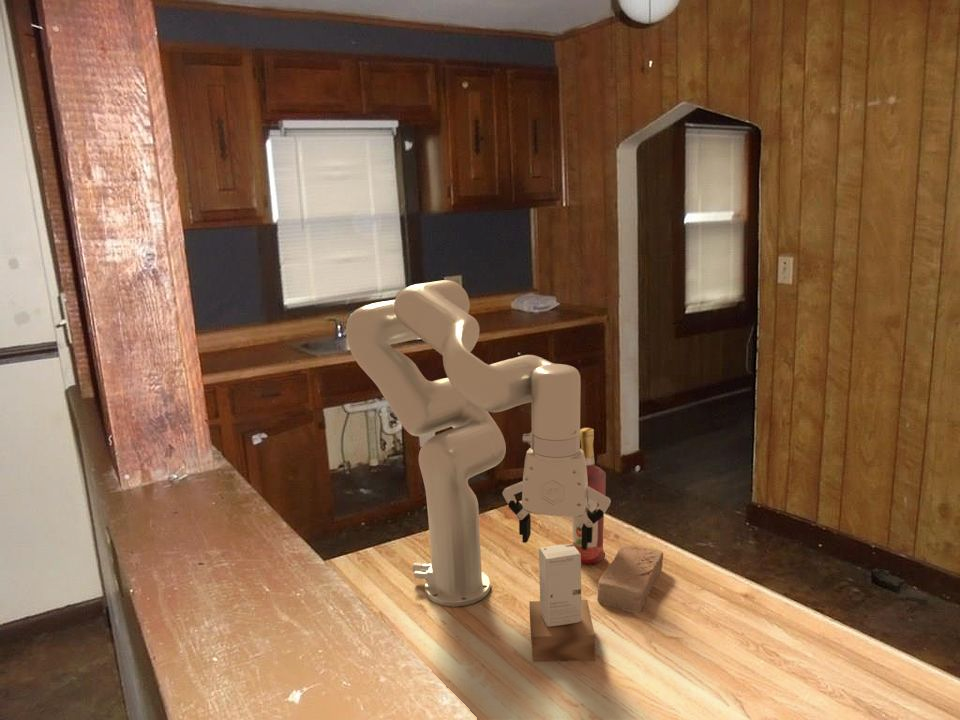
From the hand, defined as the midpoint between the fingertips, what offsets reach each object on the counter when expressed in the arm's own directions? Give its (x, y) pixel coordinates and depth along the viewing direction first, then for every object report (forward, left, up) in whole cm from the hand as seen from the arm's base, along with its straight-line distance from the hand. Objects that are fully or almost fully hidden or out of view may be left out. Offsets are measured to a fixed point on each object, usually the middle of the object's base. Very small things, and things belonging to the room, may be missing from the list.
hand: (555, 542), depth 114 cm
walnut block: (+1, 0, -18) cm, 18 cm away
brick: (+11, +20, -19) cm, 29 cm away
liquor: (+2, +28, -18) cm, 33 cm away
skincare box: (+1, 0, -14) cm, 14 cm away
